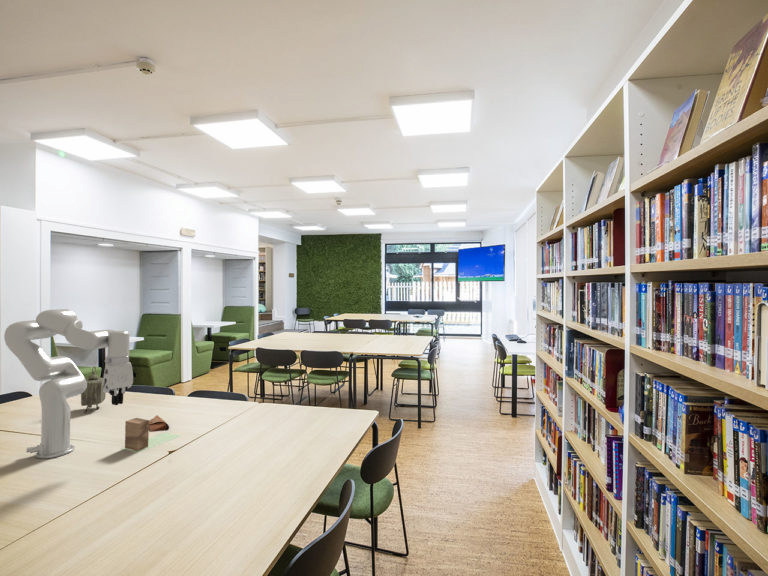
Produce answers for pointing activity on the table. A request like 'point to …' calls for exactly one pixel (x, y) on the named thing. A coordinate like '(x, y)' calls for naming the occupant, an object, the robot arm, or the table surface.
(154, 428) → the sunglasses case
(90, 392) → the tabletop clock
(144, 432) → the walnut block
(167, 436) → the felt mat
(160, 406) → the table surface
